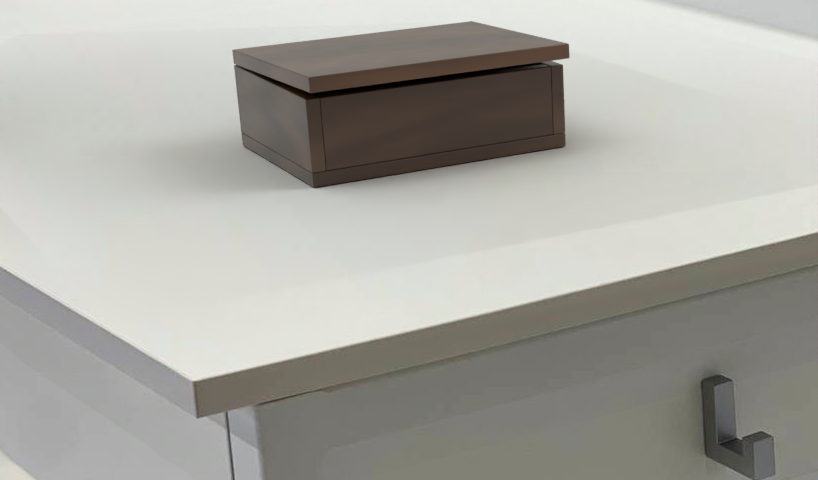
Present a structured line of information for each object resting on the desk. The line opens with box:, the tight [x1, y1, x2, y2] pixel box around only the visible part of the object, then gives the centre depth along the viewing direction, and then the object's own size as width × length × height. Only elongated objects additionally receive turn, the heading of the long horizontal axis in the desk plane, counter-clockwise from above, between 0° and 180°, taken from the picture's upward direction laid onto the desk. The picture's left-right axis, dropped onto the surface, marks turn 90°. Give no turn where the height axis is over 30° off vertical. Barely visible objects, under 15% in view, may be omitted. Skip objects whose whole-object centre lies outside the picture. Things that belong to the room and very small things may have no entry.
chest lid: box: [232, 20, 571, 93], centre depth 93 cm, size 12×16×1 cm
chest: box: [233, 60, 567, 188], centre depth 95 cm, size 12×16×5 cm
